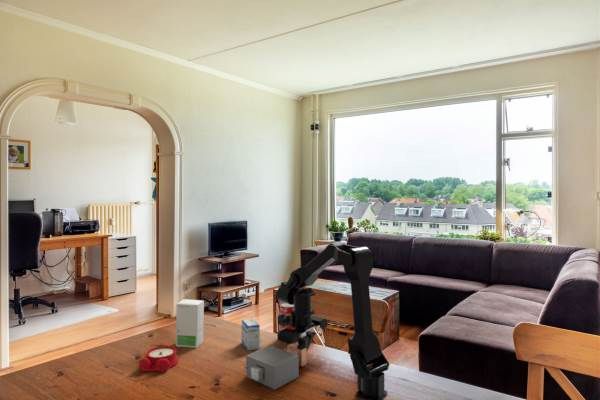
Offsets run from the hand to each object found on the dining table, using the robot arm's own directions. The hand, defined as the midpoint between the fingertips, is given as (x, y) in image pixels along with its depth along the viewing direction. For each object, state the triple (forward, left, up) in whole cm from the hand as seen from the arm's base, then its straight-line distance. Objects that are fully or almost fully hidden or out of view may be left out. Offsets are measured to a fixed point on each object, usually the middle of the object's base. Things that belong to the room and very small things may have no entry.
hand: (303, 355), depth 132 cm
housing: (0, +14, -2) cm, 15 cm away
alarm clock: (+33, +32, -3) cm, 46 cm away
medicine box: (+23, +2, -2) cm, 23 cm away
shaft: (0, +12, -1) cm, 12 cm away
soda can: (+17, -12, -2) cm, 21 cm away
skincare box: (+41, +15, -2) cm, 44 cm away
